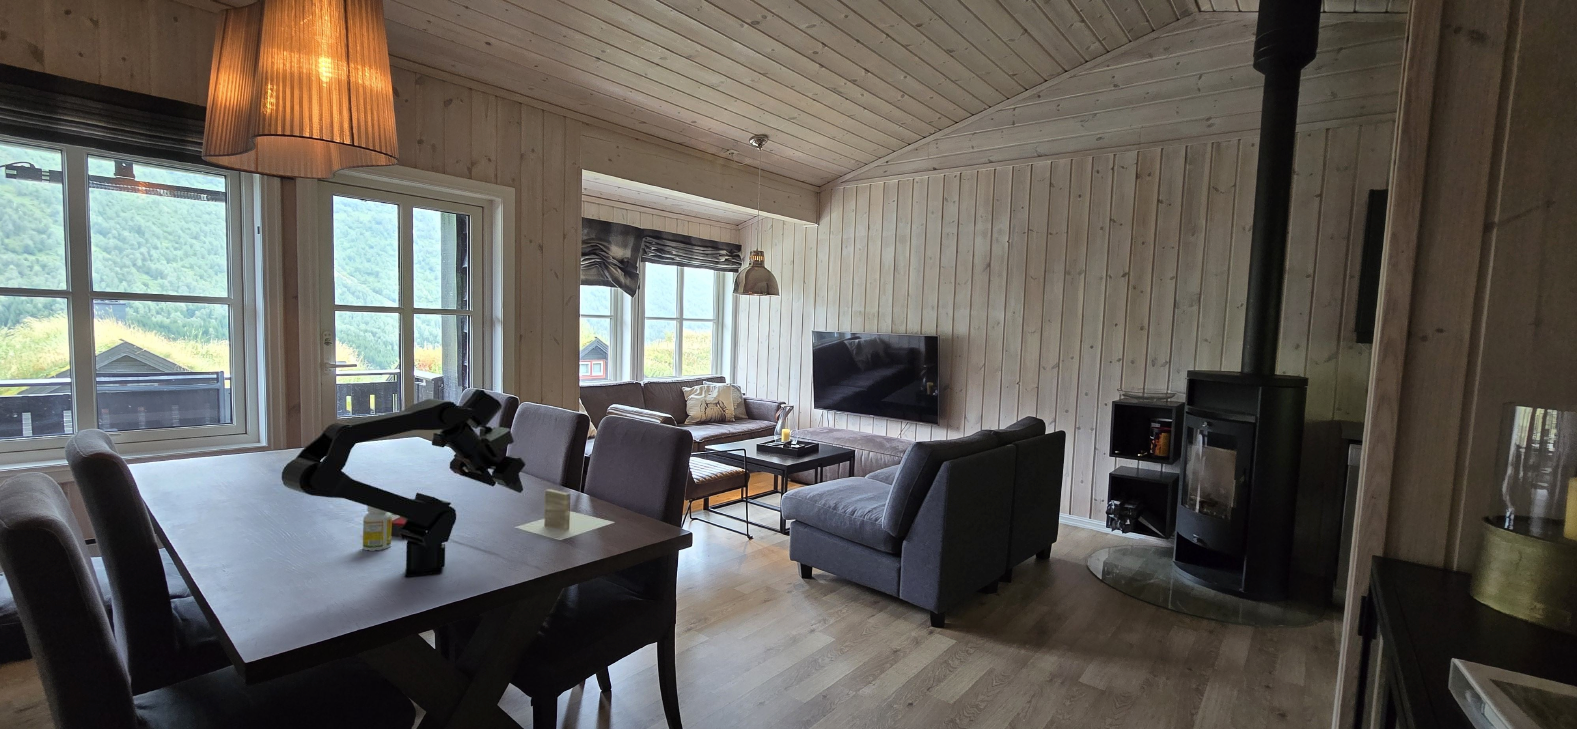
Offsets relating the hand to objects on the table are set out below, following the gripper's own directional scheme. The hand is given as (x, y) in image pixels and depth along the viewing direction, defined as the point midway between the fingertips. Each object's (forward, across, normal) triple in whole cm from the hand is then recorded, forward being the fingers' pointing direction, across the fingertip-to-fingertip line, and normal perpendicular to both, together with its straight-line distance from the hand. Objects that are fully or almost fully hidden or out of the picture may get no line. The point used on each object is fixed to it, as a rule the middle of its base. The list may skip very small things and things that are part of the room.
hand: (507, 487), depth 151 cm
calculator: (+7, +29, +13) cm, 32 cm away
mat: (+22, 0, -4) cm, 22 cm away
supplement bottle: (-2, +20, +22) cm, 30 cm away
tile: (+19, 0, -2) cm, 19 cm away
